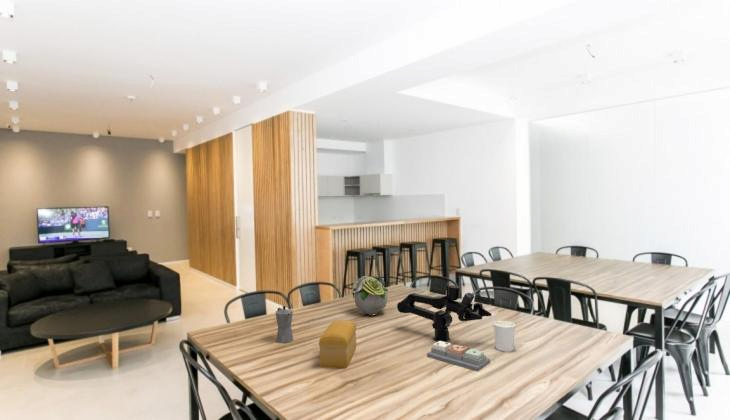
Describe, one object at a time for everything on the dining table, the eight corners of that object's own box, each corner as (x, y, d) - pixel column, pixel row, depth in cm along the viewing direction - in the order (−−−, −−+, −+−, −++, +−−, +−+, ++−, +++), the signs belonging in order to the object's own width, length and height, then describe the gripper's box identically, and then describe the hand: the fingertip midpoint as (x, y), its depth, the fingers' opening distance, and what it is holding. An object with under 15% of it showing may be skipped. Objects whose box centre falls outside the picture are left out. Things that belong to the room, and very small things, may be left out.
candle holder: (501, 353, 185) (501, 328, 185) (489, 346, 194) (489, 321, 194) (519, 351, 187) (519, 325, 187) (507, 343, 197) (506, 320, 197)
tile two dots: (433, 349, 184) (433, 343, 184) (440, 345, 188) (439, 340, 188) (444, 352, 180) (444, 346, 180) (451, 348, 184) (451, 343, 184)
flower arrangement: (345, 311, 259) (345, 274, 259) (379, 306, 270) (379, 271, 269) (361, 321, 237) (360, 281, 236) (397, 316, 247) (397, 277, 247)
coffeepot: (298, 341, 204) (297, 307, 204) (280, 345, 199) (280, 310, 199) (286, 333, 217) (286, 301, 217) (270, 337, 212) (269, 304, 211)
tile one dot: (464, 358, 173) (464, 352, 173) (471, 354, 178) (471, 348, 177) (477, 361, 169) (477, 355, 169) (483, 357, 174) (483, 351, 174)
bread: (331, 347, 197) (330, 317, 196) (356, 348, 195) (356, 317, 195) (318, 367, 172) (318, 333, 172) (347, 368, 171) (347, 334, 170)
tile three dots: (448, 353, 178) (448, 347, 178) (455, 349, 183) (455, 344, 183) (460, 357, 174) (460, 351, 174) (467, 353, 179) (467, 347, 179)
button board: (427, 356, 182) (427, 349, 182) (440, 349, 191) (440, 341, 191) (477, 371, 166) (477, 363, 166) (490, 362, 175) (489, 354, 175)
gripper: (449, 294, 190) (479, 302, 180) (468, 289, 204) (497, 297, 193) (447, 316, 191) (476, 326, 180) (466, 310, 204) (495, 319, 194)
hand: (486, 316), depth 187 cm, fingers open, 9 cm apart
